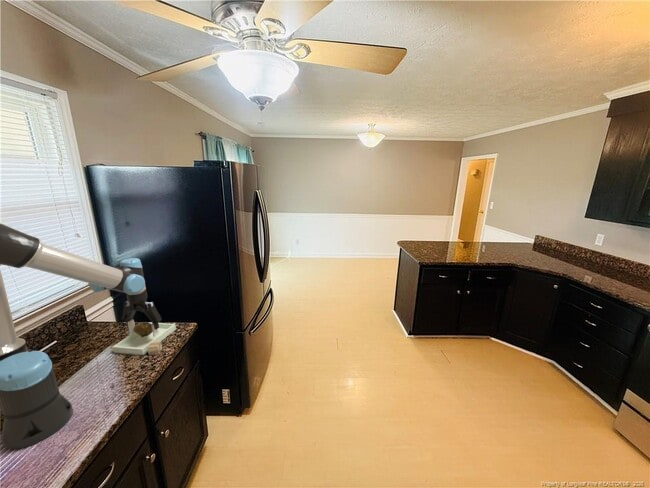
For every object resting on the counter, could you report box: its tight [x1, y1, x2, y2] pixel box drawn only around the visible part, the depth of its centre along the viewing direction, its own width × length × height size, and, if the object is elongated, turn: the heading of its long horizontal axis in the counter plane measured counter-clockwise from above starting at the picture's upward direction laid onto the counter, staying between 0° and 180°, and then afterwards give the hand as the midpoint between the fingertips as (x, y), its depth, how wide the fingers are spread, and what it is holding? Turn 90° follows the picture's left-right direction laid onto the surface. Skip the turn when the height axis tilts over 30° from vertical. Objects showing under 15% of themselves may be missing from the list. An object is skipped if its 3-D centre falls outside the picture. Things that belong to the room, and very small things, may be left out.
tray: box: [111, 321, 177, 356], centre depth 126 cm, size 21×15×3 cm
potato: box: [134, 321, 152, 337], centre depth 124 cm, size 8×13×8 cm, turn 27°
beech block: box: [147, 341, 163, 356], centre depth 117 cm, size 4×4×4 cm
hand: (144, 334), depth 125 cm, fingers closed on potato, 12 cm apart
